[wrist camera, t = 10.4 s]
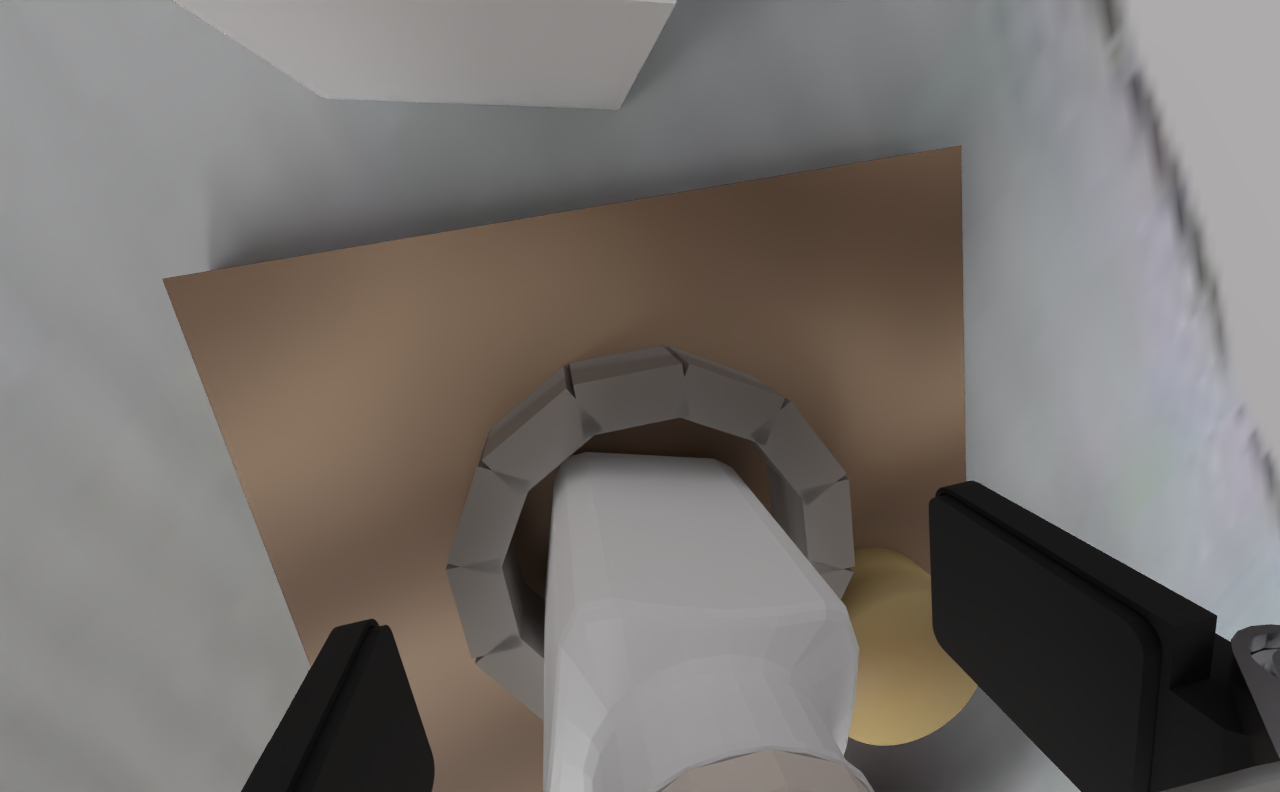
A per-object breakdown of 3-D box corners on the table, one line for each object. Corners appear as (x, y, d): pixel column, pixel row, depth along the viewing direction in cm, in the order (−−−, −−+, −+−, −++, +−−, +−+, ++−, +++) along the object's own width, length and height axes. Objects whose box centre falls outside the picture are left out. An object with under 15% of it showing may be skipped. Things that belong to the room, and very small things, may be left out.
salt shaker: (543, 604, 14) (533, 1320, 5) (555, 441, 13) (575, 935, 4) (708, 605, 14) (986, 1231, 5) (732, 450, 13) (1120, 886, 4)
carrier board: (934, 648, 18) (1024, 743, 14) (392, 789, 16) (352, 933, 13) (918, 155, 14) (1035, 127, 11) (207, 274, 12) (79, 286, 9)
